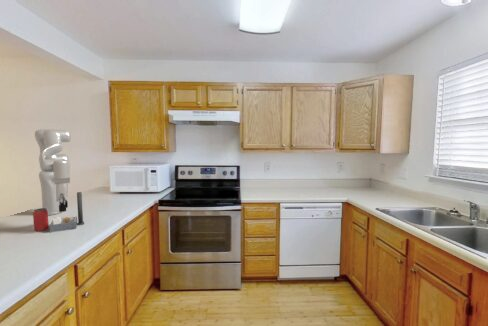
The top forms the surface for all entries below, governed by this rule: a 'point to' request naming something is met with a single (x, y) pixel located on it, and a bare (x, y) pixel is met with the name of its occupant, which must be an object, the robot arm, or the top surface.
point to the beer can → (40, 219)
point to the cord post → (80, 208)
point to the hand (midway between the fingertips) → (63, 209)
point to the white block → (57, 220)
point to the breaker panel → (64, 224)
